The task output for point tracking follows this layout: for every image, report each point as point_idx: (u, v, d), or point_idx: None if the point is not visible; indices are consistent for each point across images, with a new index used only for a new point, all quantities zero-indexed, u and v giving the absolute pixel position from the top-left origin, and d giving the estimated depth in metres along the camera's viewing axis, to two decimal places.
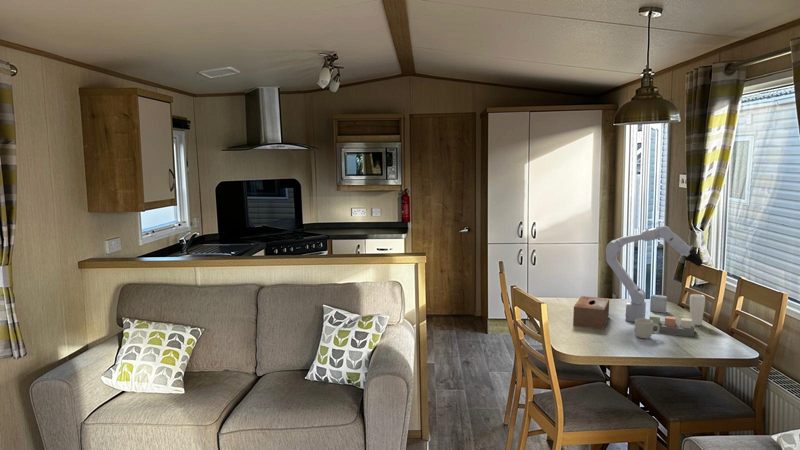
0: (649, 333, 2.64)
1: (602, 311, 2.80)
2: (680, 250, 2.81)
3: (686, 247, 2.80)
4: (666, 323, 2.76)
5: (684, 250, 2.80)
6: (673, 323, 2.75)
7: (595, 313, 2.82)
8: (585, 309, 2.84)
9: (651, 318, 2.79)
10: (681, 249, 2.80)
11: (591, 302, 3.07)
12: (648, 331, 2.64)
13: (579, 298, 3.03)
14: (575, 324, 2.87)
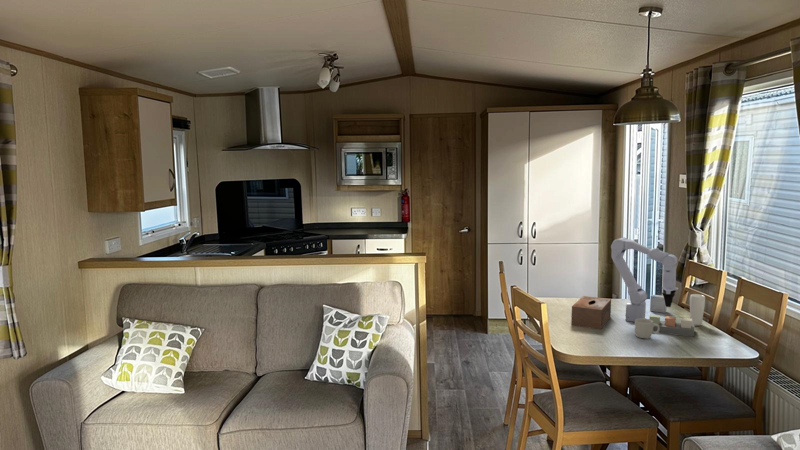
0: (649, 333, 2.64)
1: (600, 311, 2.80)
2: (666, 284, 2.83)
3: (672, 286, 2.82)
4: (666, 323, 2.76)
5: (668, 287, 2.82)
6: (673, 323, 2.75)
7: (593, 312, 2.82)
8: (583, 309, 2.84)
9: (651, 318, 2.79)
10: (667, 284, 2.82)
11: (593, 302, 3.07)
12: (648, 331, 2.64)
13: (580, 298, 3.04)
14: (573, 323, 2.88)
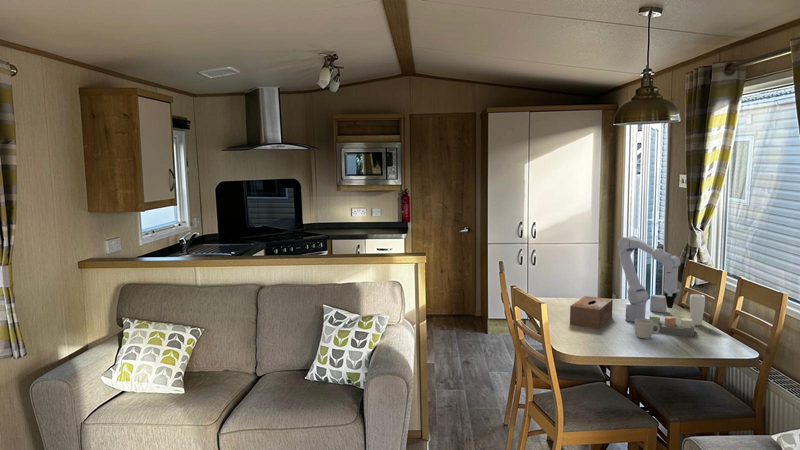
0: (649, 333, 2.64)
1: (598, 311, 2.80)
2: (667, 286, 2.78)
3: (674, 288, 2.77)
4: (666, 323, 2.76)
5: (670, 289, 2.77)
6: (673, 323, 2.75)
7: (591, 312, 2.82)
8: (581, 308, 2.85)
9: (651, 318, 2.79)
10: (669, 286, 2.77)
11: (595, 302, 3.06)
12: (648, 331, 2.64)
13: (581, 298, 3.04)
14: (572, 323, 2.88)
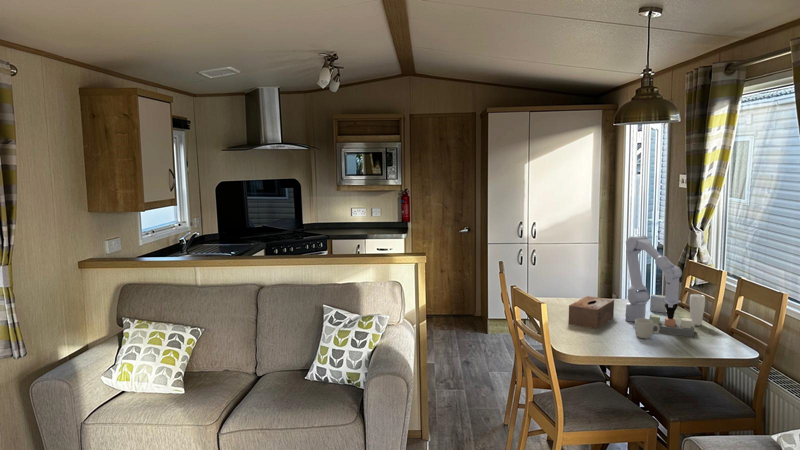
0: (649, 333, 2.64)
1: (595, 311, 2.81)
2: (668, 297, 2.75)
3: (675, 299, 2.73)
4: (666, 324, 2.76)
5: (671, 300, 2.74)
6: (673, 324, 2.75)
7: (589, 312, 2.83)
8: (579, 308, 2.85)
9: (651, 318, 2.79)
10: (670, 297, 2.74)
11: None
12: (648, 331, 2.64)
13: (582, 298, 3.04)
14: (570, 323, 2.89)
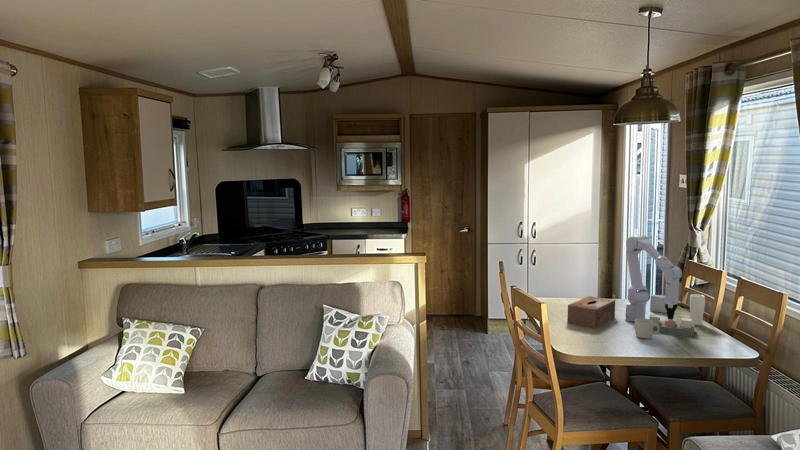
0: (649, 333, 2.64)
1: (594, 311, 2.81)
2: (668, 297, 2.75)
3: (675, 300, 2.73)
4: (666, 325, 2.76)
5: (671, 300, 2.74)
6: (673, 325, 2.75)
7: (587, 312, 2.83)
8: (578, 308, 2.86)
9: (651, 318, 2.79)
10: (670, 297, 2.74)
11: None
12: (648, 331, 2.64)
13: (583, 298, 3.04)
14: (569, 322, 2.90)
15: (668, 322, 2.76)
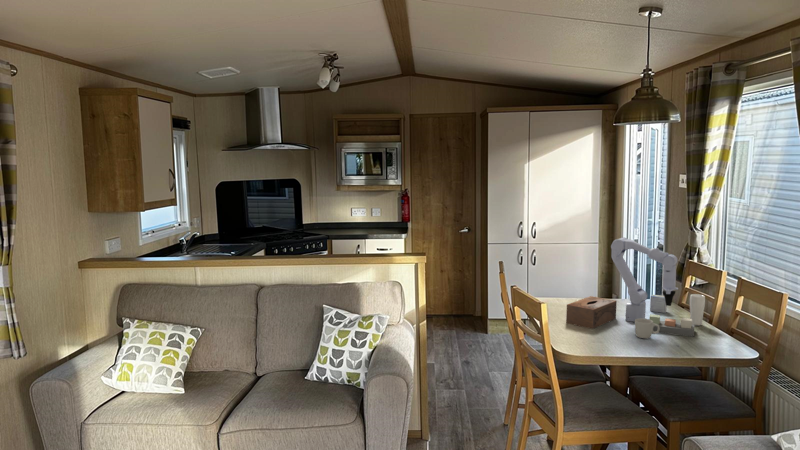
0: (649, 333, 2.64)
1: (591, 311, 2.81)
2: (666, 284, 2.83)
3: (672, 286, 2.82)
4: (666, 325, 2.76)
5: (668, 287, 2.82)
6: (673, 325, 2.75)
7: (585, 312, 2.84)
8: (576, 307, 2.87)
9: (651, 318, 2.79)
10: (667, 284, 2.82)
11: None
12: (648, 331, 2.64)
13: (585, 298, 3.04)
14: (568, 322, 2.91)
15: (668, 322, 2.76)
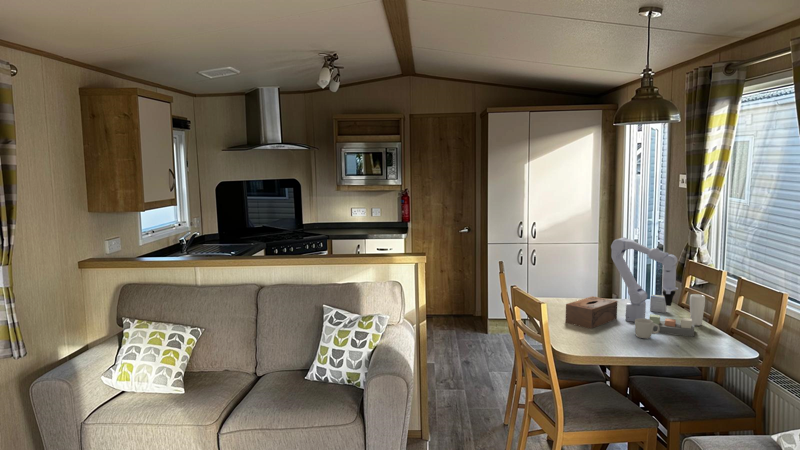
0: (649, 333, 2.64)
1: (590, 310, 2.81)
2: (666, 284, 2.83)
3: (672, 286, 2.82)
4: (666, 325, 2.76)
5: (668, 287, 2.82)
6: (673, 325, 2.75)
7: (584, 312, 2.84)
8: (575, 307, 2.87)
9: (651, 318, 2.79)
10: (667, 284, 2.82)
11: None
12: (648, 331, 2.64)
13: (586, 298, 3.04)
14: (567, 321, 2.92)
15: (668, 322, 2.76)
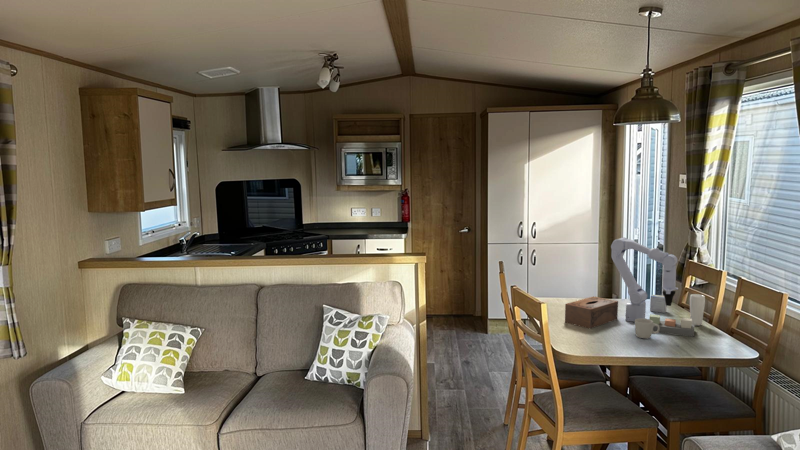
0: (649, 333, 2.64)
1: (589, 310, 2.81)
2: (666, 284, 2.83)
3: (672, 286, 2.82)
4: (666, 325, 2.76)
5: (668, 287, 2.82)
6: (673, 325, 2.75)
7: (583, 311, 2.84)
8: (575, 307, 2.88)
9: (651, 318, 2.79)
10: (667, 284, 2.82)
11: None
12: (648, 331, 2.64)
13: (586, 298, 3.04)
14: (566, 321, 2.92)
15: (668, 322, 2.76)
